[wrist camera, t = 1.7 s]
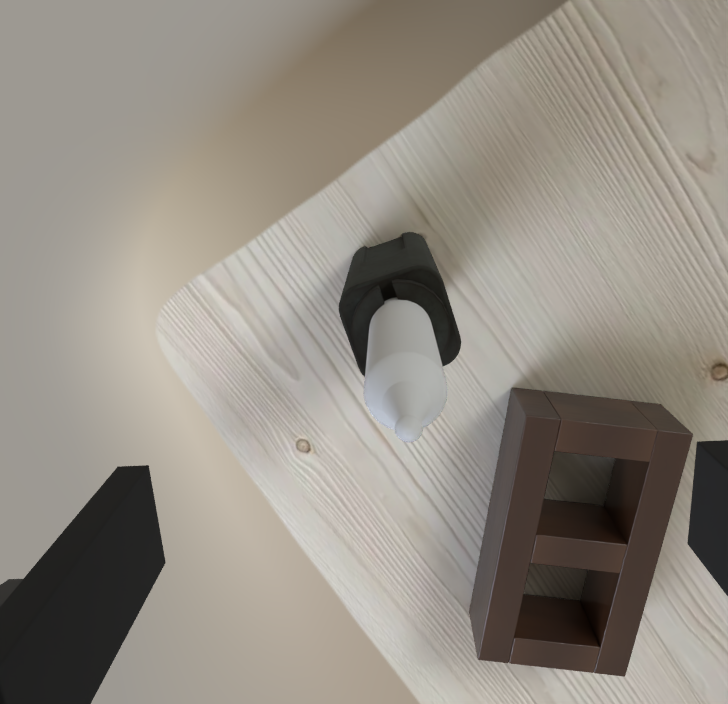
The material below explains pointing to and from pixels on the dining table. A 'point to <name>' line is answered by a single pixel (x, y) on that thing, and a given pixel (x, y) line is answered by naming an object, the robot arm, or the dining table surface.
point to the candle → (400, 332)
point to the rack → (575, 531)
